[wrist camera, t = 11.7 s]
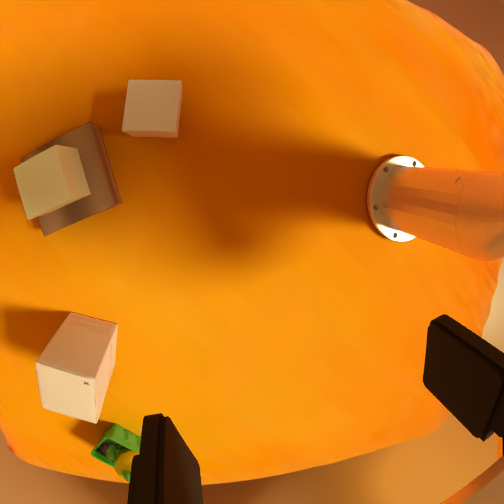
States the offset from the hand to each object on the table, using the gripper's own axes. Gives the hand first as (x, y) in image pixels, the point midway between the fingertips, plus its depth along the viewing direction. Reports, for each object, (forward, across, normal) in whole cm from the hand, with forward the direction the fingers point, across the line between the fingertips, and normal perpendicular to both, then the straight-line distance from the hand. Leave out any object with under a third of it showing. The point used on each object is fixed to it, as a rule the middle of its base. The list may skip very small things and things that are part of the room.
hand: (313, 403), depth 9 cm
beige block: (+26, +16, -12) cm, 33 cm away
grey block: (+30, +4, -16) cm, 34 cm away
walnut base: (+30, +16, -12) cm, 36 cm away
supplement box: (+30, +22, +9) cm, 38 cm away
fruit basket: (+30, +26, +30) cm, 50 cm away
